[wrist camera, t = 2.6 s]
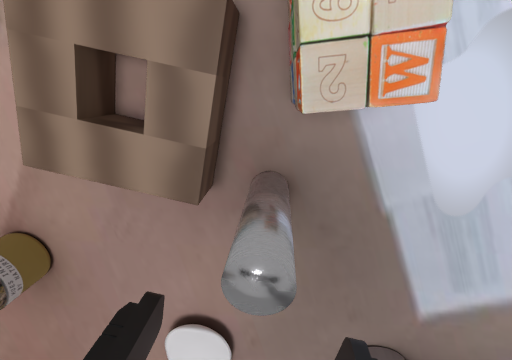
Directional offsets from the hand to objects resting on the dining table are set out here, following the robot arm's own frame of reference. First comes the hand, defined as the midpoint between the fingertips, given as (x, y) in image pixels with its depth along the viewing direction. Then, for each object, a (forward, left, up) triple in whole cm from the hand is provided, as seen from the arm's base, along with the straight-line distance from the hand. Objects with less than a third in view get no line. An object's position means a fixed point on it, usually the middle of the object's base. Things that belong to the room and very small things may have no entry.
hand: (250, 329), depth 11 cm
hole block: (+14, -7, -17) cm, 23 cm away
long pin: (0, 0, -17) cm, 17 cm away
